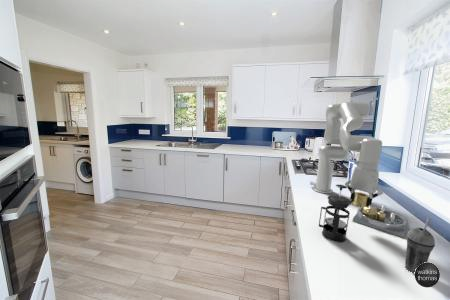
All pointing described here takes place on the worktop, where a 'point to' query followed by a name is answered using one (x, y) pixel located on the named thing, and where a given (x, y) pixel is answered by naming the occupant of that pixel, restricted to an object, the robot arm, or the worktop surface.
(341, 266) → the worktop surface
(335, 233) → the french press
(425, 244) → the beverage cup
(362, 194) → the gear
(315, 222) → the worktop surface
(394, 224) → the carrier
